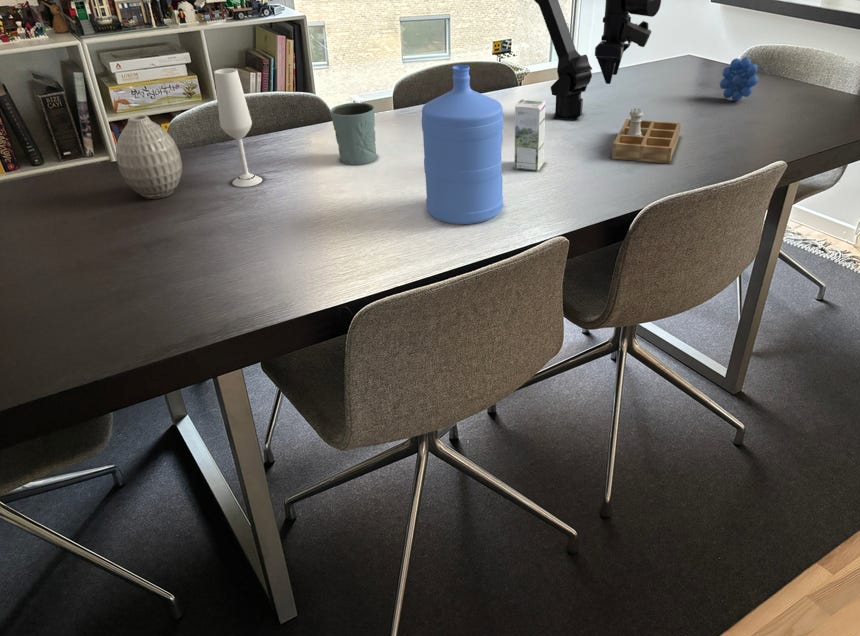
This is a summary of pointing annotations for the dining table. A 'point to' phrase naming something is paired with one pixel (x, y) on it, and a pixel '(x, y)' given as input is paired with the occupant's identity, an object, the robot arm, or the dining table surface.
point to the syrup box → (529, 134)
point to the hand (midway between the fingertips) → (611, 79)
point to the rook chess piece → (635, 122)
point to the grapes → (739, 78)
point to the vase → (148, 158)
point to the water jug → (463, 153)
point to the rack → (647, 142)
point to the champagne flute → (234, 116)
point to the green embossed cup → (355, 132)
